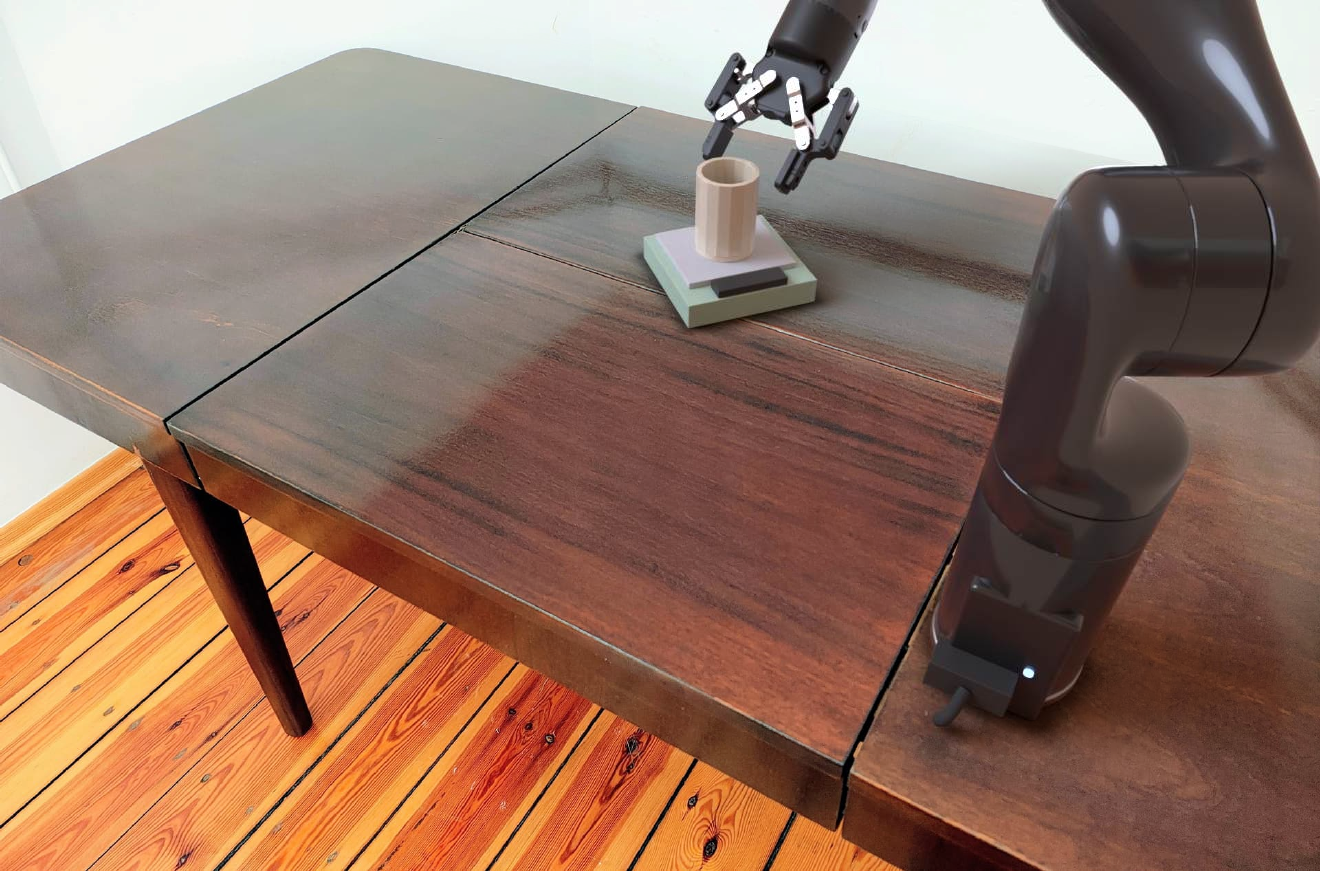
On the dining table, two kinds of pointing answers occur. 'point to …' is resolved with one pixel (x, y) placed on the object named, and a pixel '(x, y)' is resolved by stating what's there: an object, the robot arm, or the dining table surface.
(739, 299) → the scale
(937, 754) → the dining table surface
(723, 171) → the cup
